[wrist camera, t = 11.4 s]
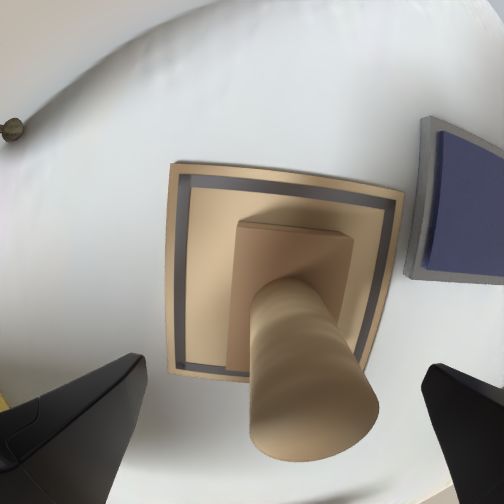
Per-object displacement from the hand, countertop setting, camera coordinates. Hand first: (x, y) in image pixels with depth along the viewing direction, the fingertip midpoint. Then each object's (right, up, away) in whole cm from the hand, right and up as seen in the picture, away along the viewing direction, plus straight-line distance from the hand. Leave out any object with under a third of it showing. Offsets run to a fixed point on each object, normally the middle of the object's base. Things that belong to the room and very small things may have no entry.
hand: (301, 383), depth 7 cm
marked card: (0, +2, +7) cm, 8 cm away
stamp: (0, +2, +7) cm, 7 cm away
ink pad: (+13, +6, +6) cm, 15 cm away
